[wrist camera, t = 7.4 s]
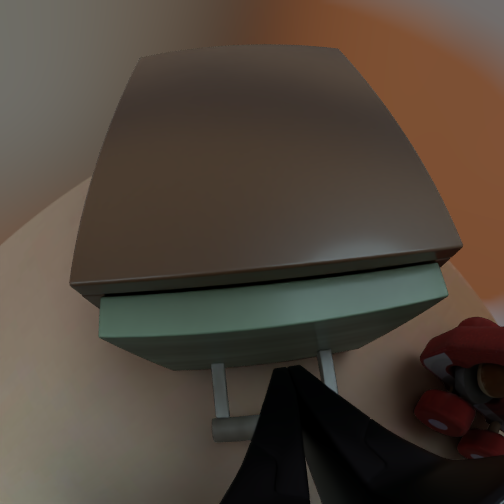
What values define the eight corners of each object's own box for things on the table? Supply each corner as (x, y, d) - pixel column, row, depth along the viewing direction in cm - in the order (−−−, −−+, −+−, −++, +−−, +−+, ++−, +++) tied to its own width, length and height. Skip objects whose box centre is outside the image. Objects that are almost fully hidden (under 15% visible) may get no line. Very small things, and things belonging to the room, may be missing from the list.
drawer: (368, 411, 14) (472, 409, 6) (178, 437, 13) (106, 472, 5) (314, 178, 21) (339, 75, 13) (173, 189, 20) (145, 85, 13)
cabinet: (358, 330, 17) (464, 246, 7) (165, 352, 16) (67, 285, 7) (313, 164, 23) (338, 48, 14) (169, 175, 22) (139, 57, 13)
